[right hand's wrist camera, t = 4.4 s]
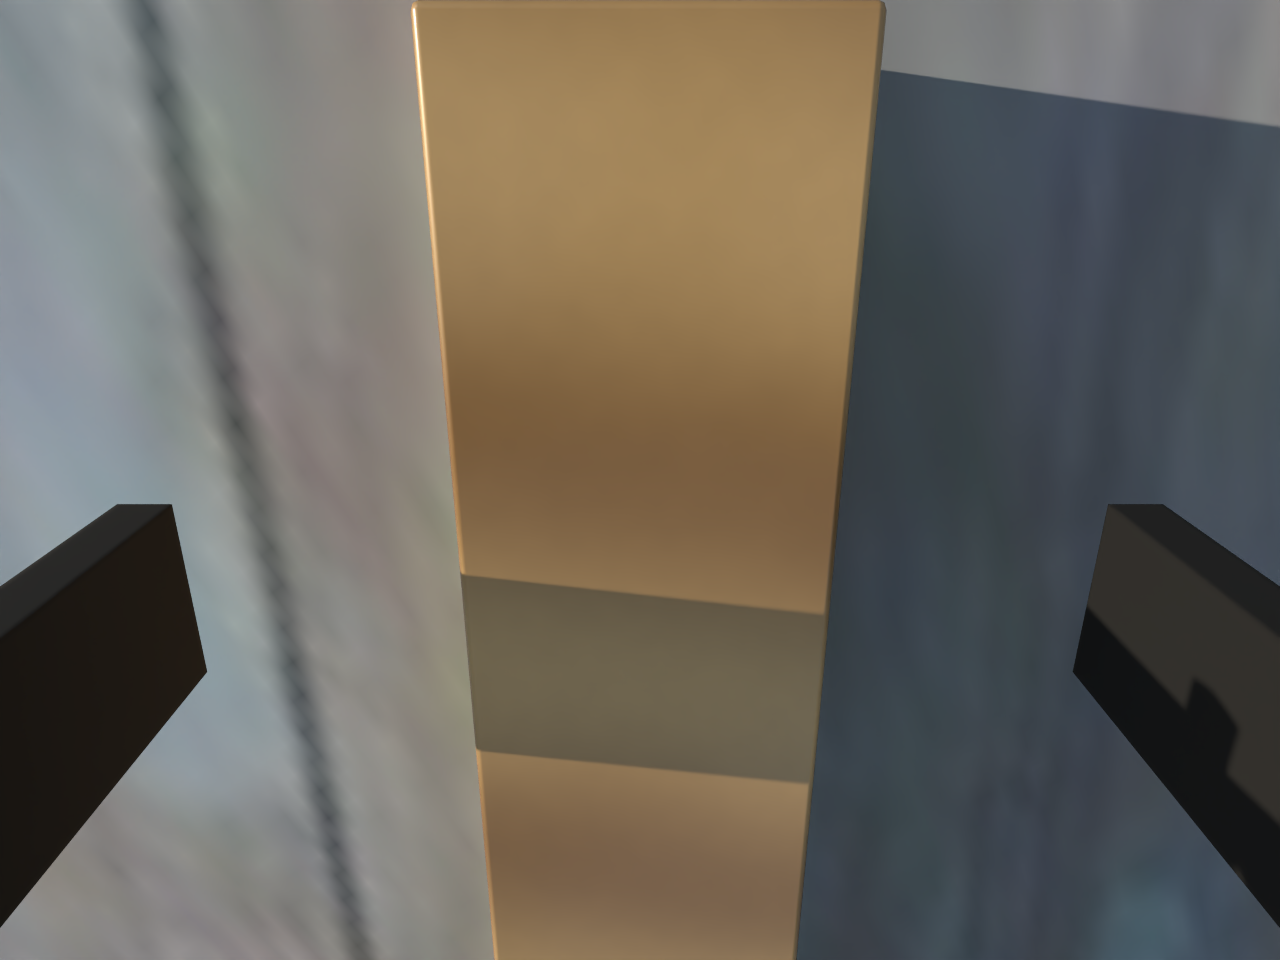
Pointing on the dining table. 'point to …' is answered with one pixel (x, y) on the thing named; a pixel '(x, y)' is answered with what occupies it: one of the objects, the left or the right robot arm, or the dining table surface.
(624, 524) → the board
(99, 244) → the dining table surface
